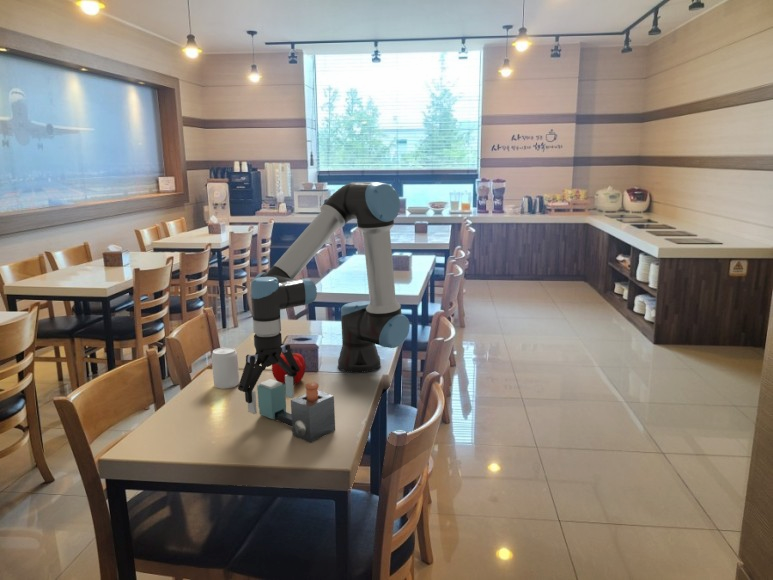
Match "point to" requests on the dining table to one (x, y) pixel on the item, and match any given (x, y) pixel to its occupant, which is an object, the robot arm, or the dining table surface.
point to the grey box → (313, 416)
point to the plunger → (312, 391)
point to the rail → (283, 417)
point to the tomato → (279, 372)
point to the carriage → (271, 398)
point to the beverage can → (225, 367)
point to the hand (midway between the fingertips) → (271, 404)
